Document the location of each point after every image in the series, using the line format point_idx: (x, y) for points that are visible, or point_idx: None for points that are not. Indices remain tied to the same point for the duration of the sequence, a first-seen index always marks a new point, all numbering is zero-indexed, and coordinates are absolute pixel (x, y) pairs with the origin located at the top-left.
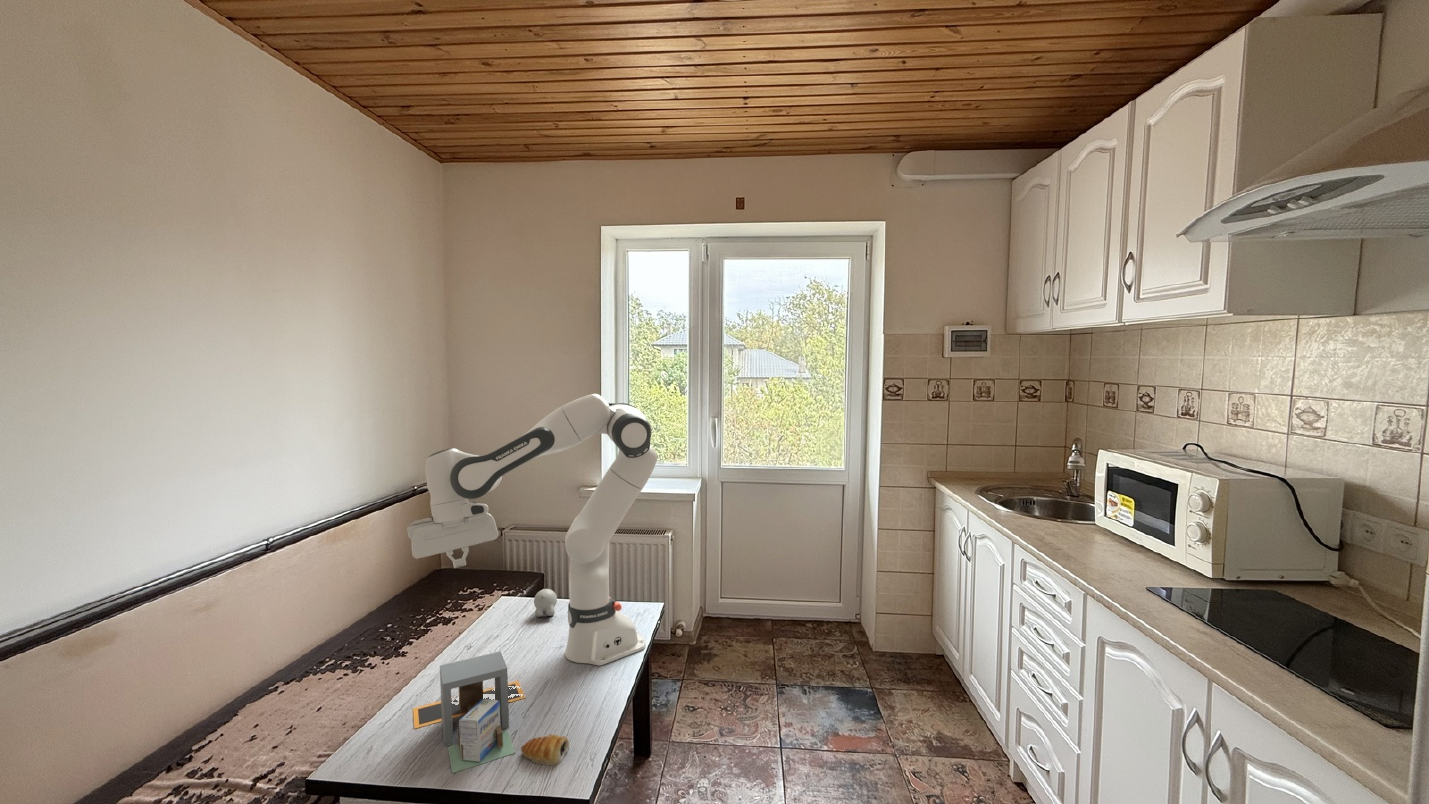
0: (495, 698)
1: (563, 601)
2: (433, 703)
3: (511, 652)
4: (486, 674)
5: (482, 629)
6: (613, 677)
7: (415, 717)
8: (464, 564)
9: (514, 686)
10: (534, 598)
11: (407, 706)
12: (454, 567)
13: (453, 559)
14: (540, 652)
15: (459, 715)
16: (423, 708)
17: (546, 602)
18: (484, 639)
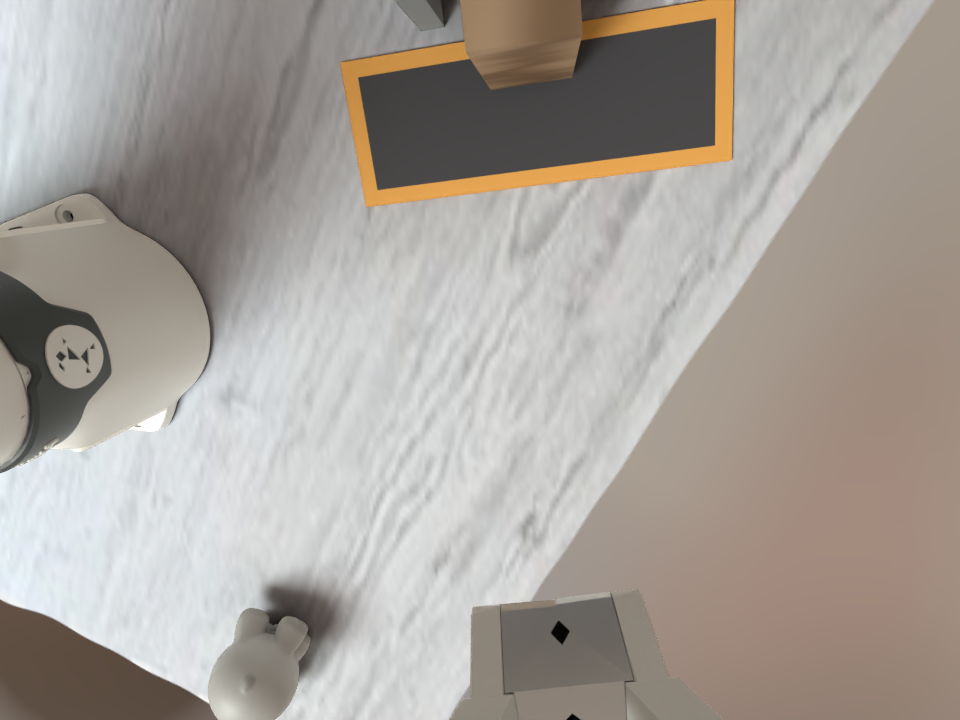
0: (435, 9)
1: None
2: (659, 165)
3: (390, 429)
4: None
5: None
6: (38, 86)
7: (726, 83)
8: (496, 607)
9: (378, 168)
10: (286, 697)
11: (749, 188)
12: (635, 590)
13: (669, 710)
14: (294, 386)
15: None
16: (695, 141)
17: (245, 653)
18: (478, 560)
